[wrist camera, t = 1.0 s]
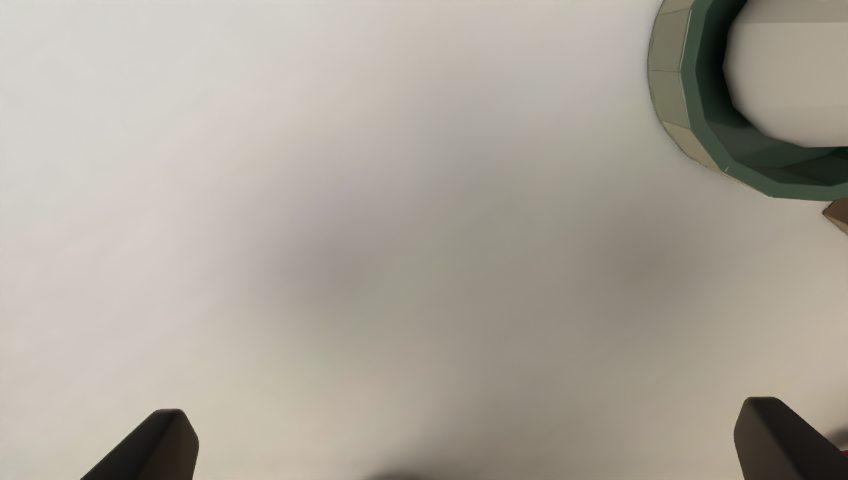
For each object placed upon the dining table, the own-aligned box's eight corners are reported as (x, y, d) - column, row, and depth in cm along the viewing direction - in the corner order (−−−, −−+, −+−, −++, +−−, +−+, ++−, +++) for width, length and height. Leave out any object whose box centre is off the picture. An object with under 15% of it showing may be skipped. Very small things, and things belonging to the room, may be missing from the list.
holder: (932, 133, 20) (1021, 148, 17) (676, 208, 22) (712, 235, 19) (906, -139, 18) (1003, -184, 15) (621, -34, 20) (651, -53, 16)
